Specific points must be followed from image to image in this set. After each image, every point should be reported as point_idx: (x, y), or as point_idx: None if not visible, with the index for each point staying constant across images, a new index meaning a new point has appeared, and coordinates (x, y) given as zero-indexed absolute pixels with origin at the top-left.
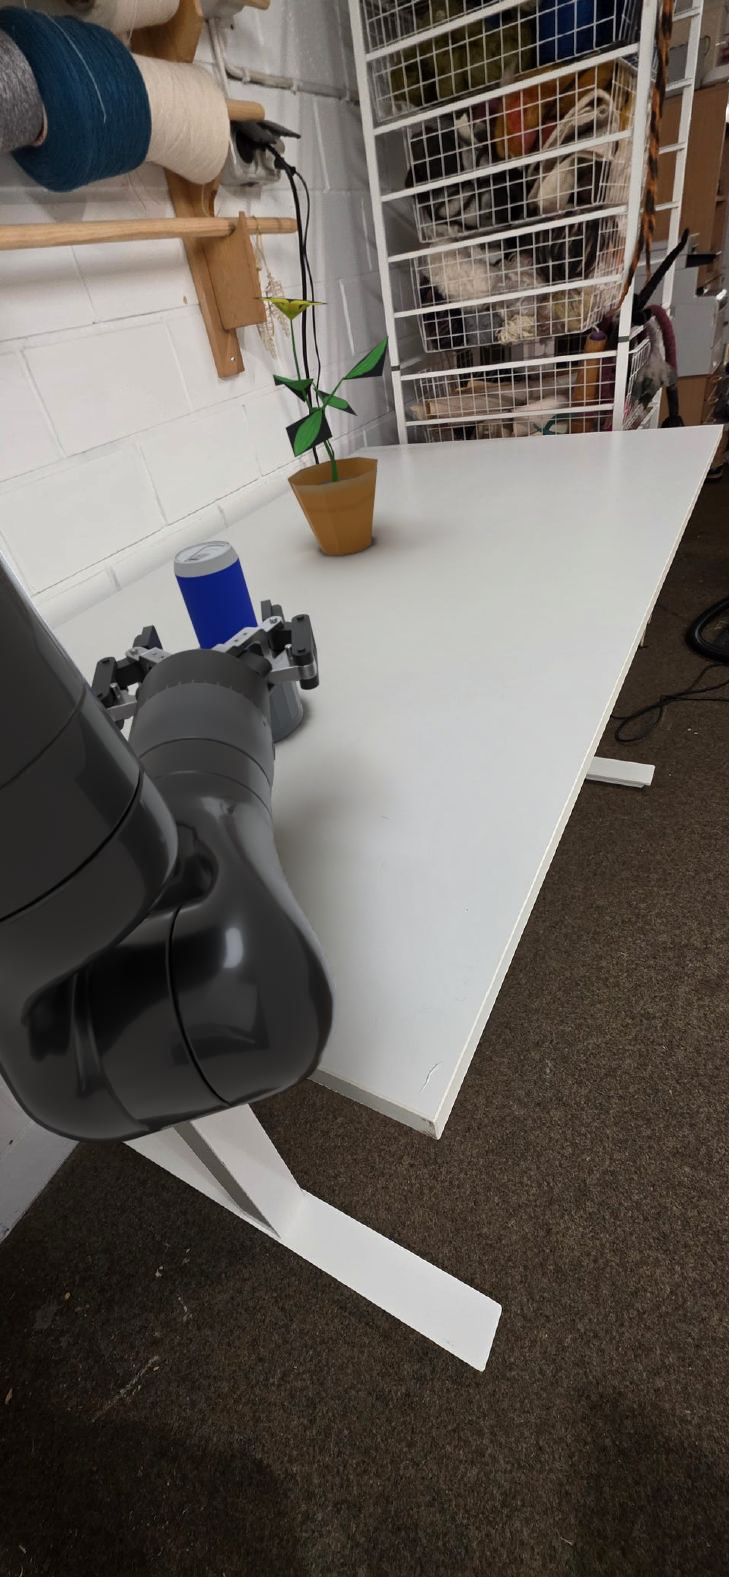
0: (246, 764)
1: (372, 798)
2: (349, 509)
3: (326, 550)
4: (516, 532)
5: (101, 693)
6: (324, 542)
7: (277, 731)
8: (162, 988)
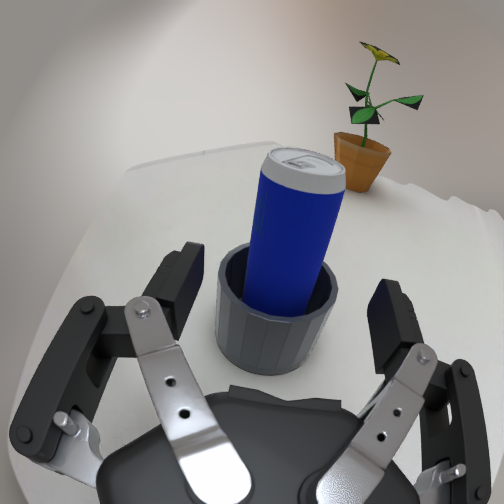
0: None
1: None
2: (367, 167)
3: None
4: (448, 227)
5: (28, 440)
6: None
7: (287, 368)
8: None
